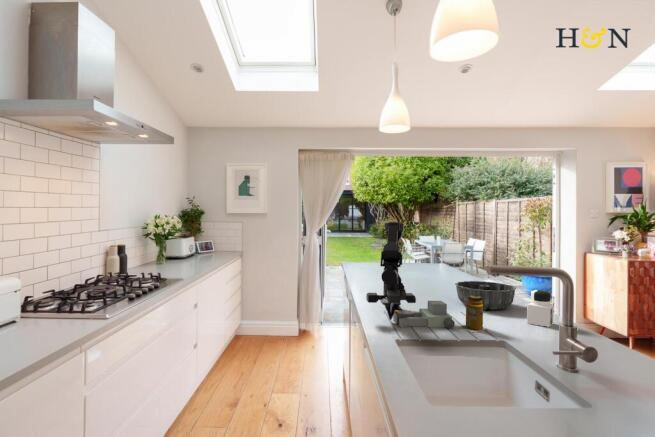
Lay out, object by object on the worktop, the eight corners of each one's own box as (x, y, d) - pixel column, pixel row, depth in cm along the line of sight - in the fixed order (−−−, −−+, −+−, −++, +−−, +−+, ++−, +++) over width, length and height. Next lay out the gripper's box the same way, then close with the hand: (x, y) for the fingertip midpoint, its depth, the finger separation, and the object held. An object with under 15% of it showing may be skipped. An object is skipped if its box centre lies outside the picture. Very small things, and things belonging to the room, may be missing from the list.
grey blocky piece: (391, 316, 145) (392, 297, 145) (440, 317, 145) (440, 298, 145) (400, 328, 130) (400, 307, 130) (454, 328, 130) (454, 307, 130)
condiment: (487, 329, 130) (488, 297, 130) (474, 333, 125) (474, 300, 125) (470, 324, 136) (470, 293, 136) (457, 327, 132) (457, 296, 132)
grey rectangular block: (393, 320, 139) (393, 310, 139) (410, 320, 140) (410, 309, 140) (396, 324, 135) (396, 313, 135) (414, 323, 135) (414, 312, 135)
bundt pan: (447, 299, 179) (448, 279, 179) (499, 300, 178) (499, 280, 178) (466, 312, 153) (466, 290, 153) (527, 314, 152) (527, 291, 152)
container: (553, 323, 138) (554, 291, 138) (549, 328, 132) (549, 294, 132) (531, 319, 143) (532, 288, 143) (526, 323, 137) (527, 290, 137)
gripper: (370, 283, 129) (369, 325, 129) (420, 284, 129) (419, 325, 129) (366, 278, 140) (365, 317, 140) (412, 279, 140) (411, 317, 140)
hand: (390, 319), depth 137 cm, fingers closed
